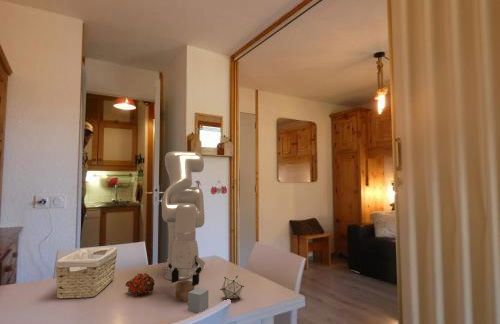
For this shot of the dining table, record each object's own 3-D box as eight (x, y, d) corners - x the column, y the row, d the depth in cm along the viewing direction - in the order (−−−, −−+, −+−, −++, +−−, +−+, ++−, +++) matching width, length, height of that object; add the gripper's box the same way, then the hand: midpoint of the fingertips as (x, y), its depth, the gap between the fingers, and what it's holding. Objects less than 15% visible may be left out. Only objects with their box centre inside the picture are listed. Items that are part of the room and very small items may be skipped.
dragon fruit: (155, 299, 113) (127, 302, 115) (161, 280, 120) (135, 283, 122) (146, 286, 109) (117, 289, 111) (154, 267, 116) (126, 270, 118)
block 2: (187, 310, 100) (188, 292, 101) (196, 305, 105) (196, 287, 105) (199, 313, 98) (199, 294, 98) (208, 307, 102) (208, 290, 103)
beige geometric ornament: (235, 310, 108) (239, 294, 103) (214, 300, 110) (218, 284, 105) (244, 291, 116) (248, 275, 111) (224, 282, 118) (228, 266, 112)
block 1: (175, 300, 109) (175, 283, 109) (183, 295, 113) (183, 279, 114) (185, 302, 107) (185, 285, 107) (194, 297, 111) (194, 281, 112)
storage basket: (80, 280, 132) (82, 247, 133) (118, 278, 134) (119, 246, 135) (51, 301, 108) (53, 260, 110) (97, 299, 110) (99, 259, 112)
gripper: (161, 237, 112) (160, 283, 110) (198, 239, 104) (197, 289, 103) (174, 234, 119) (174, 278, 117) (209, 236, 111) (209, 283, 109)
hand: (185, 283), depth 110 cm, fingers open, 9 cm apart
